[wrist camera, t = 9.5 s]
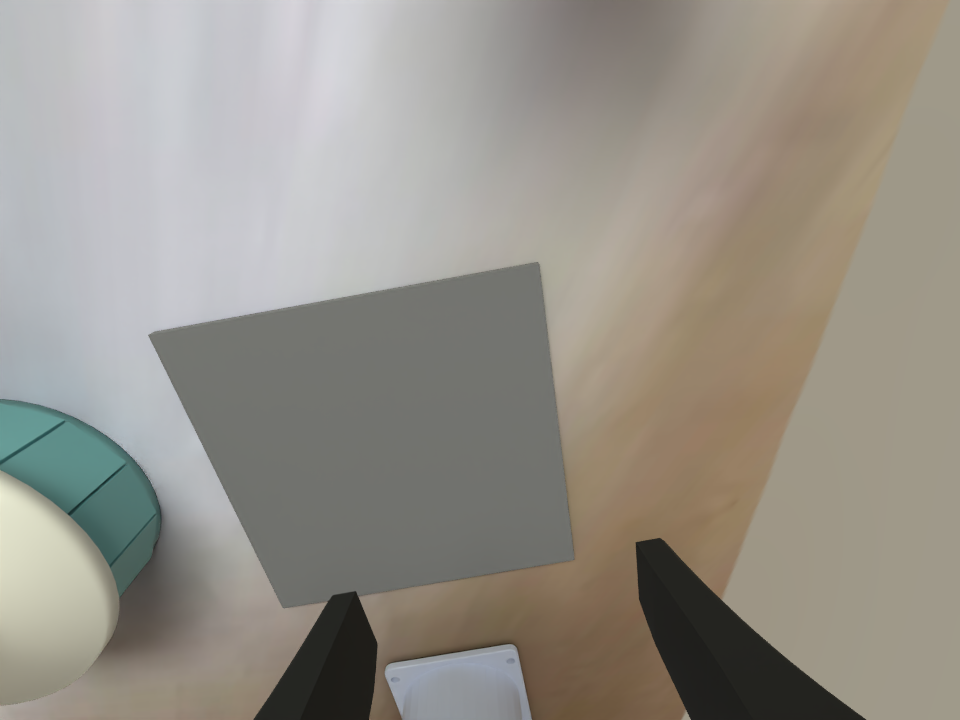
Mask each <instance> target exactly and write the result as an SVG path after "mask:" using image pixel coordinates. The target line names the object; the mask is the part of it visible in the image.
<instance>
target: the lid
mask: <svg viewBox="0 0 960 720" xmlns="http://www.w3.org/2000/svg"><path fill="white" fill-rule="evenodd" d="M118 616H119V595H118V590H117V586H116V582H115V579H114V577H113V574H112V572H111V569H110V567H109V565H108V563H107V561H106V560H105V558H104V556H103V555H102V553H101V551H100V550H99V548H98V547H97V546H96V545H95V543H94V542H93V541H92V539H91V538H90V537H89V536H88V534H87V533H86V532H85V531H84V530H83V529H82V528H81V527H80V526H79V525H78V524H77V523H76V522H75V521H74V520H73V519H72V518H71V517H70V516H69V515H68V514H66V513H65V512H64V511H63V510H62V509H60V508H59V507H58V506H57V505H56V504H54V503H53V502H52V501H51V500H49V499H48V498H46V497H45V496H43V495H42V494H40V493H39V492H37V491H36V490H34V489H33V488H32V487H30V486H29V485H27V484H25V483H23V482H21V481H20V480H18V479H16V478H14V477H12V476H11V475H9V474H7V473H5V472H3V471H1V470H0V706H2V705H10V704H18V703H22V702H27V701H31V700H35V699H38V698H41V697H44V696H47V695H50V694H53V693H55V692H57V691H59V690H61V689H63V688H65V687H67V686H68V685H70V684H71V683H73V682H74V681H76V680H77V679H79V678H80V677H81V676H82V675H83V674H84V673H85V672H86V671H87V670H88V669H89V668H90V667H91V666H92V664H93V663H94V661H95V660H96V659H97V657H98V656H99V655H100V653H101V652H102V651H103V649H104V648H105V646H106V645H107V644H108V642H109V641H110V639H111V638H112V636H113V633H114V631H115V628H116V626H117V622H118Z"/></svg>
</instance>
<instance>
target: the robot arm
mask: <svg viewBox="0 0 960 720" xmlns="http://www.w3.org/2000/svg"><path fill="white" fill-rule="evenodd" d="M636 555H637V572H638V589H639V600H640V603H641V606H642V609H643V612H644V614H645V617H646V620H647V623H648V626H649V628H650V631H651V634H652V637H653V639H654V642H655V644H656V647H657V649H658V651H659V653H660V655H661V657H662V659H663V662H664V664H665V666H666V668H667V670H668V672H669V674H670V676H671V679H672V681H673V683H674V685H675V687H676V689H677V691H678V693H679V695H680V698H681V700H682V702H683V704H684V706H685V708H686V710H687V712H688V714H689V717H690V719H691V720H866V719H865V718H863V717H862V716H861V715H859V714H858V713H856V712H855V711H854V710H852V709H851V708H850V707H848V706H847V705H846V704H844V703H843V702H842V701H840V700H839V699H838V698H836V697H835V696H834V695H832V694H831V693H830V692H828V691H827V690H826V689H824V688H823V687H822V686H820V685H819V684H818V683H817V682H815V681H814V680H813V679H812V678H810V677H809V676H808V675H806V674H805V673H804V672H803V671H801V670H800V669H799V668H798V667H797V666H795V665H794V664H793V663H791V662H790V661H789V660H788V659H787V658H785V657H784V656H783V655H782V654H781V653H779V652H778V651H777V650H776V649H775V648H774V647H772V646H771V645H770V644H769V643H768V642H767V641H766V640H765V639H763V638H762V637H761V636H760V635H759V634H758V633H756V632H755V631H754V630H753V629H752V628H751V627H750V626H749V625H747V624H746V623H745V622H744V621H743V620H742V619H741V618H740V617H739V616H738V615H737V614H736V613H735V612H733V611H732V610H731V609H730V608H729V607H728V606H727V605H726V604H725V603H724V602H723V601H722V600H721V599H720V598H719V597H718V596H717V595H715V594H714V593H713V592H712V591H711V590H710V589H709V588H708V587H707V586H706V585H705V584H704V583H703V582H702V581H701V580H700V579H699V578H698V576H697V575H696V574H695V573H694V572H693V571H692V570H691V569H690V568H689V567H688V566H687V565H686V564H685V563H684V562H683V561H682V560H681V559H680V558H679V557H678V556H677V554H676V553H675V552H674V551H673V550H672V549H671V548H670V547H669V546H668V544H667V543H666V542H665V541H664V540H662V539H661V538H657V539H652V540H646V541H640V542H636ZM376 659H377V641H376V639H375V637H374V634H373V632H372V629H371V627H370V624H369V622H368V619H367V617H366V615H365V612H364V610H363V607H362V605H361V602H360V600H359V597H358V595H357V593H356V591H353V592H347V593H341V594H336V595H332V597H331V598H330V599H329V601H328V603H327V604H326V606H325V608H324V609H323V611H322V613H321V614H320V616H319V618H318V619H317V621H316V623H315V624H314V626H313V628H312V629H311V631H310V633H309V634H308V636H307V638H306V639H305V641H304V643H303V644H302V646H301V647H300V649H299V651H298V652H297V654H296V656H295V657H294V659H293V660H292V662H291V663H290V665H289V667H288V668H287V670H286V671H285V673H284V675H283V676H282V678H281V679H280V681H279V682H278V684H277V686H276V687H275V689H274V690H273V692H272V693H271V695H270V696H269V698H268V699H267V701H266V702H265V703H264V705H263V706H262V708H261V709H260V711H259V712H258V714H257V715H256V717H255V718H254V720H369V715H370V710H371V704H372V698H373V693H374V683H375V672H376ZM385 677H386V679H387V682H388V684H389V687H390V689H391V692H392V694H393V697H394V699H395V702H396V704H397V707H398V709H399V712H400V714H401V717H402V720H532V717H531V713H530V708H529V703H528V698H527V693H526V689H525V684H524V679H523V674H522V670H521V665H520V660H519V655H518V651H517V648H516V646H514V645H512V644H506V645H500V646H494V647H488V648H481V649H475V650H469V651H463V652H457V653H451V654H445V655H438V656H432V657H426V658H420V659H414V660H408V661H402V662H395V663H391V664H388V665H387V666H386V668H385Z"/></svg>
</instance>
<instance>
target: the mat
mask: <svg viewBox="0 0 960 720" xmlns="http://www.w3.org/2000/svg"><path fill="white" fill-rule="evenodd" d="M148 336H149V338H150V340H151V342H152V344H153V346H154V348H155V350H156V352H157V354H158V356H159V358H160V360H161V362H162V364H163V366H164V368H165V370H166V372H167V374H168V376H169V378H170V380H171V382H172V384H173V386H174V388H175V390H176V392H177V394H178V396H179V398H180V400H181V403H182V405H183V407H184V409H185V411H186V413H187V415H188V417H189V419H190V421H191V423H192V425H193V427H194V429H195V431H196V433H197V435H198V437H199V439H200V441H201V443H202V445H203V447H204V449H205V451H206V453H207V455H208V457H209V459H210V461H211V463H212V465H213V467H214V469H215V471H216V473H217V476H218V478H219V480H220V482H221V484H222V486H223V488H224V490H225V492H226V494H227V496H228V498H229V500H230V502H231V504H232V506H233V508H234V510H235V512H236V514H237V516H238V518H239V520H240V522H241V524H242V526H243V528H244V530H245V532H246V534H247V536H248V538H249V540H250V542H251V544H252V546H253V549H254V551H255V553H256V555H257V557H258V559H259V561H260V563H261V565H262V567H263V569H264V571H265V573H266V575H267V577H268V579H269V581H270V583H271V585H272V587H273V589H274V591H275V593H276V595H277V597H278V599H279V601H280V603H281V605H282V607H283V608H288V607H294V606H300V605H306V604H312V603H318V602H324V601H329V599H330V598H331V597H332V595H336V594H341V593H347V592H353V591H356V593H357V595H358V596H360V595H366V594H372V593H378V592H384V591H390V590H396V589H402V588H408V587H414V586H420V585H426V584H432V583H438V582H444V581H450V580H456V579H462V578H468V577H474V576H480V575H486V574H492V573H498V572H504V571H510V570H516V569H522V568H528V567H534V566H540V565H546V564H552V563H558V562H565V561H571V560H574V551H573V543H572V534H571V526H570V518H569V509H568V501H567V493H566V484H565V476H564V468H563V459H562V451H561V443H560V434H559V426H558V417H557V409H556V401H555V392H554V384H553V376H552V367H551V359H550V351H549V342H548V334H547V326H546V317H545V309H544V300H543V292H542V284H541V275H540V267H539V263H538V262H536V263H530V264H525V265H519V266H514V267H508V268H503V269H497V270H492V271H486V272H481V273H475V274H470V275H464V276H459V277H453V278H448V279H442V280H437V281H431V282H426V283H420V284H415V285H409V286H404V287H398V288H393V289H387V290H382V291H376V292H371V293H365V294H360V295H354V296H349V297H343V298H338V299H332V300H327V301H321V302H316V303H310V304H305V305H299V306H294V307H288V308H283V309H277V310H272V311H266V312H261V313H255V314H250V315H244V316H239V317H233V318H228V319H222V320H217V321H211V322H206V323H200V324H195V325H189V326H184V327H178V328H173V329H167V330H162V331H156V332H153V333H151V334H149V335H148Z"/></svg>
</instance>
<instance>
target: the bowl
mask: <svg viewBox="0 0 960 720" xmlns="http://www.w3.org/2000/svg"><path fill="white" fill-rule="evenodd" d="M0 470H1V471H3V472H5V473H7V474H9V475H11V476H12V477H14V478H16V479H18V480H20V481H21V482H23V483H25V484H27V485H29V486H30V487H32V488H33V489H34V490H36V491H37V492H39V493H40V494H42V495H43V496H45V497H46V498H48V499H49V500H51V501H52V502H53V503H54V504H56V505H57V506H58V507H59V508H60V509H62V510H63V511H64V512H65V513H66V514H68V515H69V516H70V517H71V518H72V519H73V520H74V521H75V522H76V523H77V524H78V525H79V526H80V527H81V528H82V529H83V530H84V531H85V532H86V533H87V534H88V536H89V537H90V538H91V539H92V541H93V542H94V543H95V545H96V546H97V547H98V548H99V550H100V551H101V553H102V555H103V556H104V558H105V560H106V561H107V563H108V565H109V567H110V569H111V572H112V574H113V577H114V579H115V582H116V586H117V590H118V595H119V598H120V596H121V595H122V594H123V593H124V591H125V590H126V589H127V588H128V586H129V585H130V584H131V583H132V581H133V580H134V579H135V577H136V576H137V575H138V574H139V572H140V571H141V570H142V569H143V567H144V566H145V565H146V564H147V562H148V561H149V560H150V559H151V557H152V550H153V549H154V547H155V545H156V542H157V540H158V537H159V533H160V528H161V515H160V508H159V504H158V500H157V497H156V494H155V492H154V490H153V488H152V486H151V484H150V482H149V480H148V479H147V477H146V476H145V474H144V473H143V471H142V470H141V468H140V467H139V466H138V465H137V464H136V462H135V461H134V460H133V459H132V458H131V457H130V456H129V455H128V454H127V453H126V452H125V451H124V450H123V449H122V448H121V447H120V446H118V445H117V444H116V443H115V442H113V441H112V440H111V439H109V438H108V437H107V436H105V435H104V434H102V433H101V432H99V431H98V430H96V429H94V428H93V427H91V426H89V425H88V424H86V423H84V422H82V421H80V420H78V419H76V418H74V417H71V416H69V415H66V414H64V413H62V412H59V411H57V410H53V409H50V408H47V407H44V406H40V405H36V404H31V403H27V402H22V401H14V400H4V399H0Z"/></svg>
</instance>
